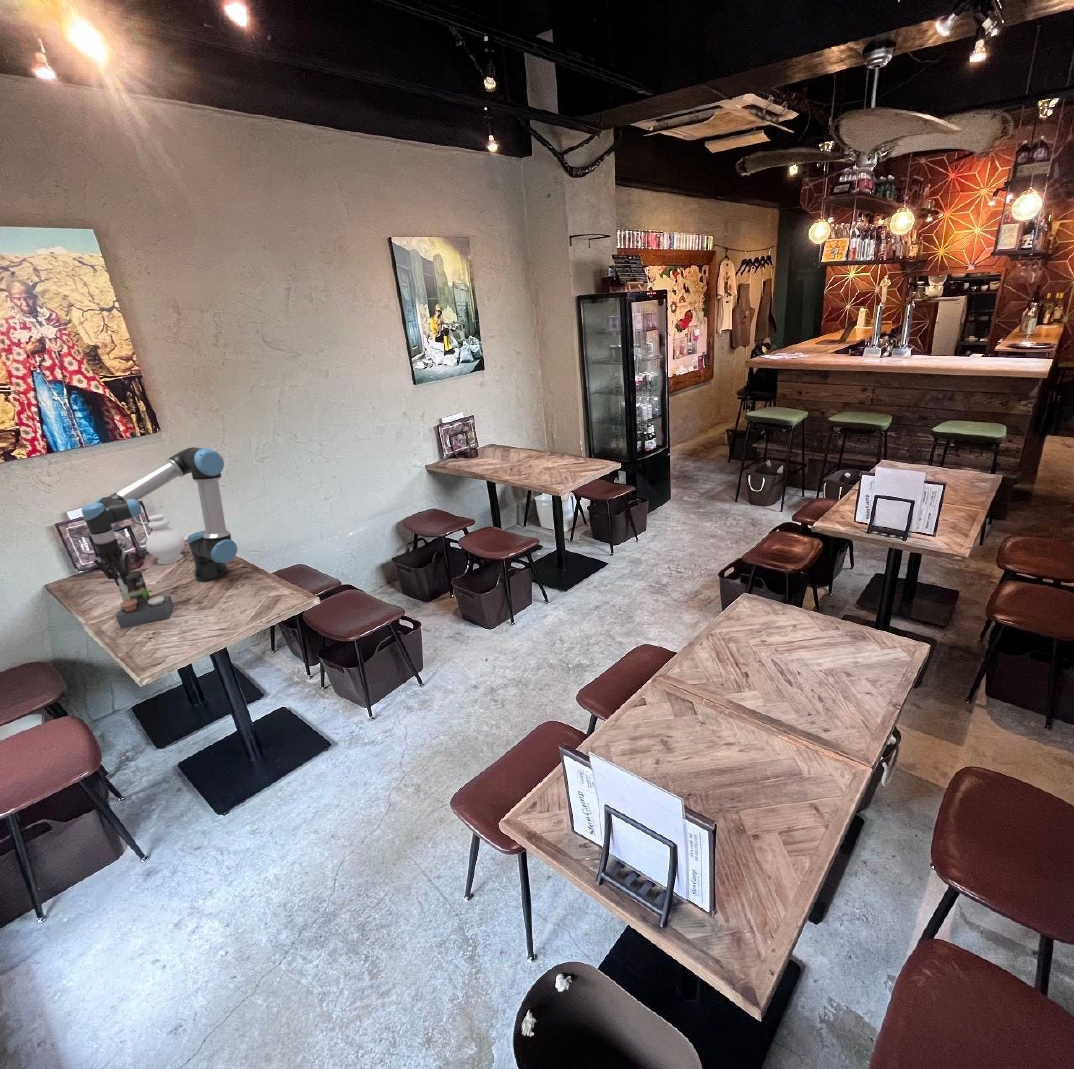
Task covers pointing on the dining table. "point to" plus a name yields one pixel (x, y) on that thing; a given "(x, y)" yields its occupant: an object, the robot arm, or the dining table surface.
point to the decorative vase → (164, 540)
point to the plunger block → (145, 613)
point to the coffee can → (135, 587)
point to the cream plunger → (156, 600)
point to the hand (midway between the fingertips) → (125, 591)
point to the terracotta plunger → (129, 604)
